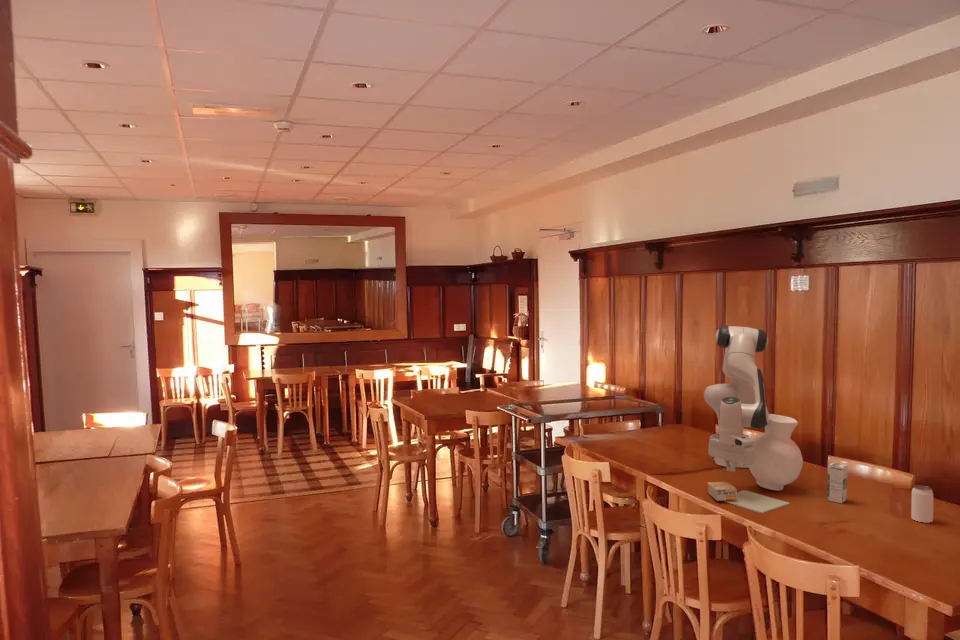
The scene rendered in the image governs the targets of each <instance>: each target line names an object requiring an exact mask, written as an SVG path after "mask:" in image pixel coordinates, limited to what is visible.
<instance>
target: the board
mask: <svg viewBox="0 0 960 640" xmlns="http://www.w3.org/2000/svg"><path fill="white" fill-rule="evenodd" d="M726 502H727V504H729V503H730V505H732V504H733V506H735V505H736V507H738V508H739V507H740V508H742V509H746V510H749V511H751V512H755V513H758V514H766V513H768V512H771V511H774V510H777V509H780V508H783V507H786V506H790V504H791V503H790V502H788V501H784V500H780V499H778V498H774V497H772V496H771V497H770V496H766V495H764V494H760V493H757V492H753V491H750V490H747V489H745V490H741V491H737V500H724V502H723V503H726Z"/></svg>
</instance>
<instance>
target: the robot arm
mask: <svg viewBox="0 0 960 640" xmlns="http://www.w3.org/2000/svg"><path fill="white" fill-rule="evenodd" d="M714 337H715V343H716V345H717V346H718V347H720V348H721V349H725V351H724V355H723V362H722V372H723V374H724V375H725V376H726V377H727V378H729V379H730V382H729V383H716V384H712V385H709V386H708V385H707V387H705V389H704V392H703V400H704V402H706V404H707V405H708V406H710V408H712V409H713V411H714V413H715V414H716V417H717V423H718V424H717V425H718V426H717V427H718V433H717V434H715V433H713V434H711V435H710V436H709V437H708V438H709V440H708V441H709V443H708V450H707V453H708V455H709V456H710V457H713V461H714V464H716V465H718V466H722V467H725V468H726V471H728V472H732V473H735V472H736V468H740V469H741V468H744V469H749V467H748V465H752V464H754V463H755V449H754V447H753V446H752V445H753V444H754V440H753V439H754V438H751V437H750V436H749V435H748V434H747V435H746V434H745V433H744V428H752V429H756V430H762V429H765V426H766V425H768V422H769V414H770V413H769V411H768V406H767V398H766V397H767V396H766V391H765V390H766V389H765V382H764V375H763V372H762V370H761V369H760V368H759V367H758V366H757V365H756V361H755V360H756V353H763V351H766V348H767V346H768V344H769V338H768V337H769V336H768V333H767V332H766V331H765V330H763V329H761V328H753V327H749V326H739V325H738V326H737V325H736V326H734V325H730V326H729V325H720V327H719V328H718V329H717V330H716V333H715V336H714Z"/></svg>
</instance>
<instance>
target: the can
mask: <svg viewBox="0 0 960 640" xmlns="http://www.w3.org/2000/svg"><path fill="white" fill-rule="evenodd" d="M912 487H913V488H912V489H911V504H910V505H911V507H910V508H911V510H910V511H911V512H910V513H911V516H910V517H911V520H913V521H914V520H915V521H914V522H916V521H918V522H917V523H920V522H923V523H922V524H931V523H933V521H934V492H933V488H932V487H930V486H926V485H922V484H921V485H919V484H917V485H913V486H912ZM930 522H931V523H930Z"/></svg>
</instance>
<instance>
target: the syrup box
mask: <svg viewBox="0 0 960 640" xmlns="http://www.w3.org/2000/svg"><path fill="white" fill-rule="evenodd" d="M848 468H849V465H847V464H845V463H840V462H831V463H830V464H828V465H827V478H826V479H827V480H826V481H827V482H826V483H827V489H826V500H827V501H828V502H833V503H839V504H844V503H845V502H846V501H847V500H848V477H849V476H848V475H849V474H848V471H849V470H848Z"/></svg>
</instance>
